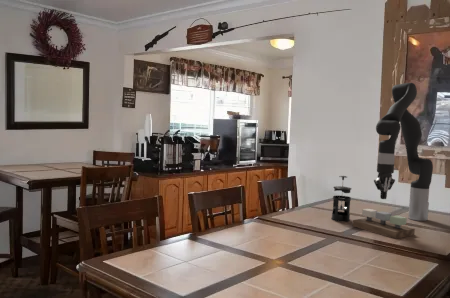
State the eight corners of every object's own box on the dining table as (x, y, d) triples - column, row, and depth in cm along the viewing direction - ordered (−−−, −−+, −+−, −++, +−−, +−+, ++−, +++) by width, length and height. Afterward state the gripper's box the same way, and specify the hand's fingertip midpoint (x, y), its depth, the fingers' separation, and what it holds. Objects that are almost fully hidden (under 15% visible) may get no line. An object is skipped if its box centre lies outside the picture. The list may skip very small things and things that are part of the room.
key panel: (371, 223, 214) (371, 217, 214) (414, 235, 194) (414, 228, 194) (352, 225, 207) (353, 219, 206) (395, 238, 186) (395, 232, 186)
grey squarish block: (381, 222, 203) (382, 211, 203) (390, 225, 199) (391, 213, 199) (375, 223, 201) (375, 212, 200) (384, 226, 197) (384, 214, 196)
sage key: (396, 227, 197) (397, 215, 196) (405, 230, 193) (406, 217, 192) (389, 228, 194) (390, 216, 194) (399, 231, 190) (399, 218, 189)
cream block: (368, 219, 210) (369, 208, 210) (376, 222, 206) (377, 210, 206) (361, 220, 208) (362, 209, 207) (369, 223, 203) (370, 211, 203)
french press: (342, 223, 212) (345, 177, 210) (326, 219, 219) (329, 175, 217) (355, 220, 220) (357, 176, 218) (339, 216, 227) (342, 174, 225)
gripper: (388, 161, 205) (385, 196, 206) (369, 162, 198) (367, 198, 199) (401, 163, 199) (399, 199, 200) (383, 163, 192) (380, 201, 193)
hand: (383, 198), depth 200 cm, fingers closed
